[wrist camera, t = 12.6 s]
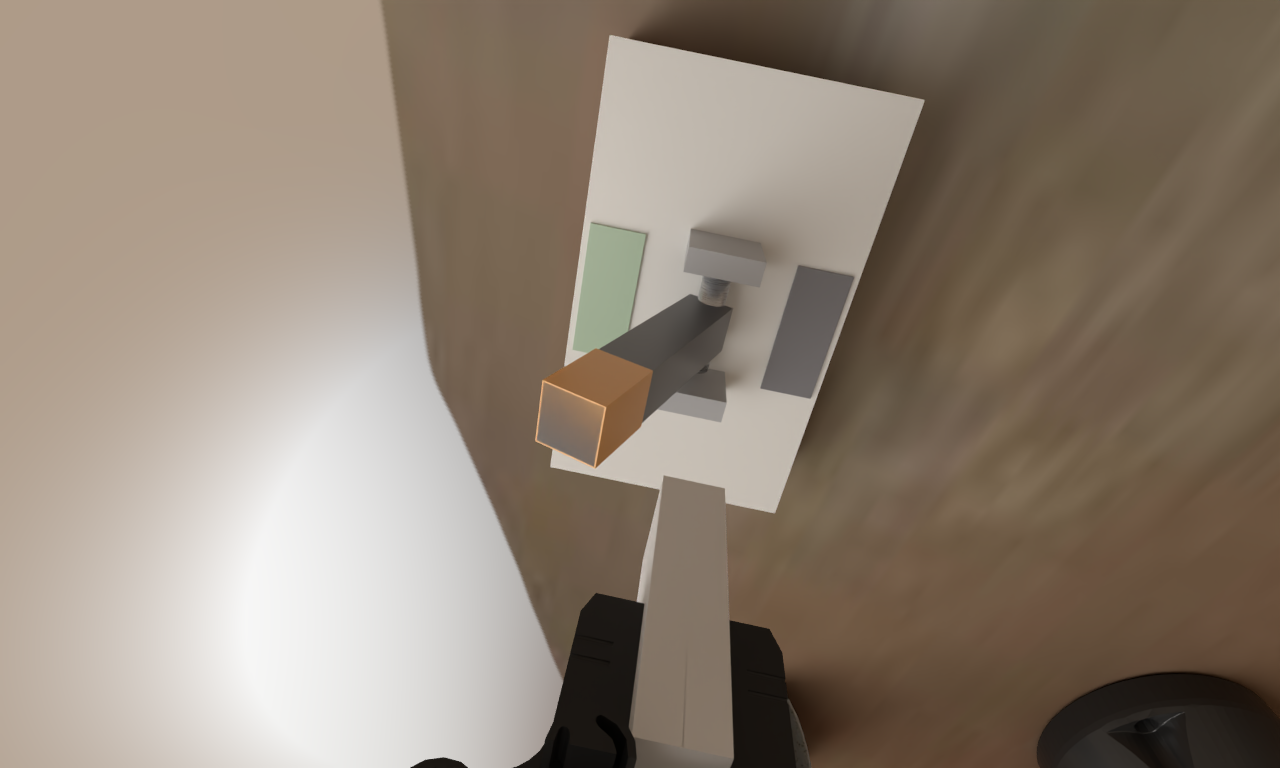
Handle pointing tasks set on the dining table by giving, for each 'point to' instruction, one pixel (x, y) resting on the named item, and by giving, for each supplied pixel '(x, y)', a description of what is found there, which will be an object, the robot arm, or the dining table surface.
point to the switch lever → (631, 376)
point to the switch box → (730, 247)
